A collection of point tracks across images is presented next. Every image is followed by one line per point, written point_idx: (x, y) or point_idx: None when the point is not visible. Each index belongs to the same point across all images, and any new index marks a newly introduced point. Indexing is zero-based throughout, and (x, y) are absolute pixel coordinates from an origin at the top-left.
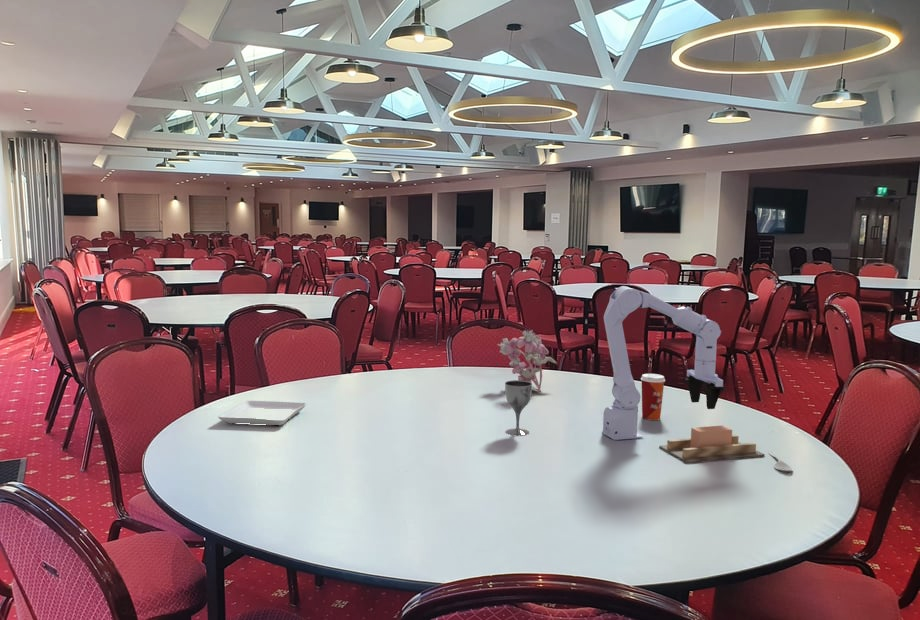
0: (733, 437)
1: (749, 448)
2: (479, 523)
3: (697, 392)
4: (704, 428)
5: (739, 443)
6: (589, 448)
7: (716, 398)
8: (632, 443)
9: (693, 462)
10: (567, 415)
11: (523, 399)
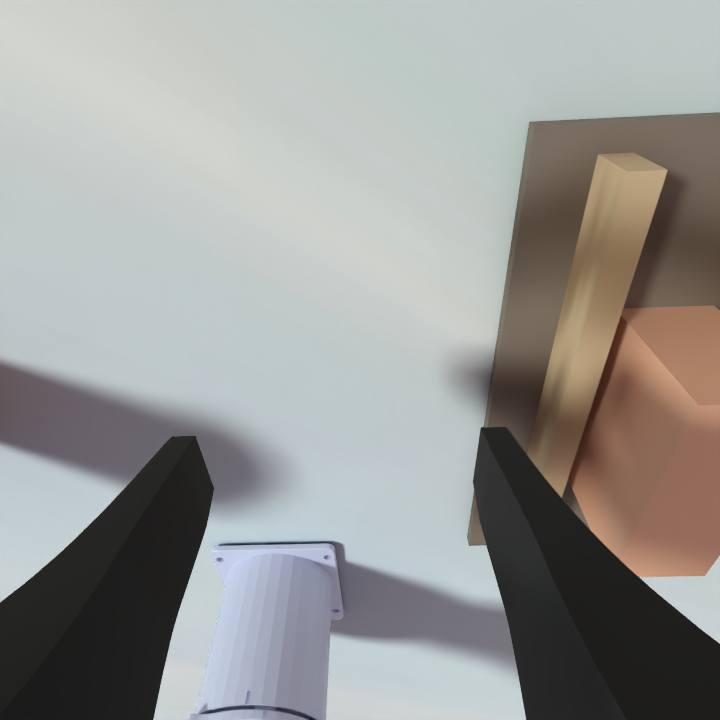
0: (646, 220)
1: None
2: None
3: (151, 557)
4: (668, 534)
5: (637, 137)
6: (403, 666)
7: (569, 537)
8: (387, 582)
9: None
10: None
11: None
